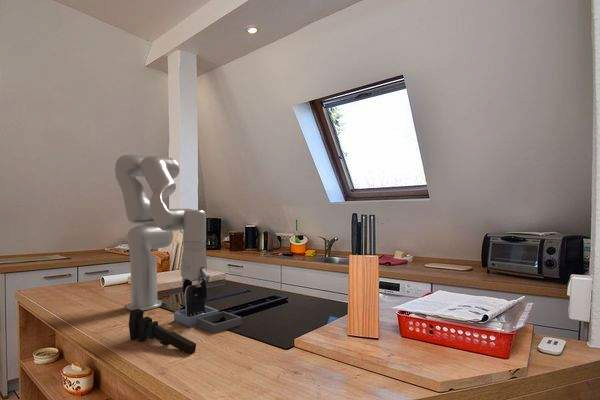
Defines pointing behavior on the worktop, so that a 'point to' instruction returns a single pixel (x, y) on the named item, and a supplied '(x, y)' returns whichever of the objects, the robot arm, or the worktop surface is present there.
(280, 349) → the worktop surface
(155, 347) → the worktop surface
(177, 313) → the parts tray
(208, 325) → the socket frame
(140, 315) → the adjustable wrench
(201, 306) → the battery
